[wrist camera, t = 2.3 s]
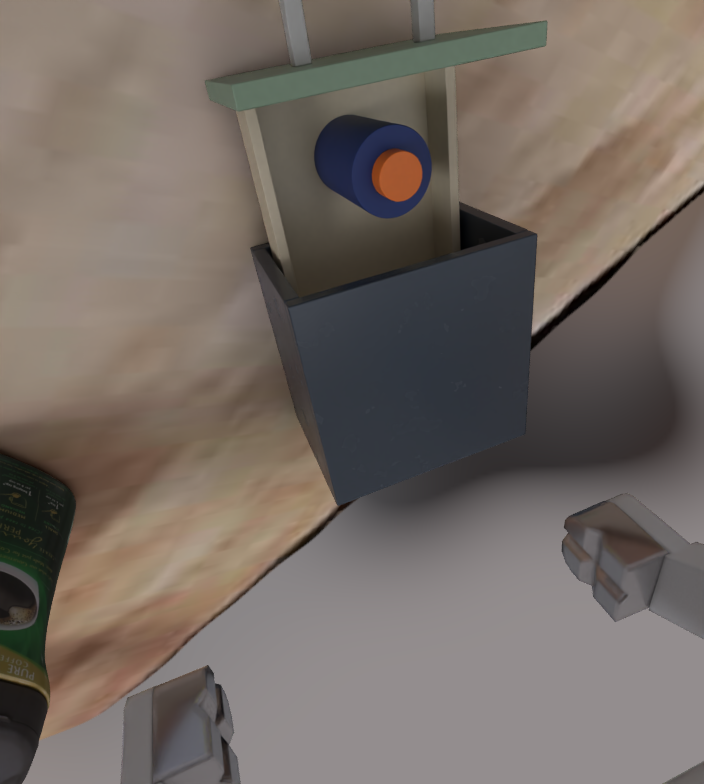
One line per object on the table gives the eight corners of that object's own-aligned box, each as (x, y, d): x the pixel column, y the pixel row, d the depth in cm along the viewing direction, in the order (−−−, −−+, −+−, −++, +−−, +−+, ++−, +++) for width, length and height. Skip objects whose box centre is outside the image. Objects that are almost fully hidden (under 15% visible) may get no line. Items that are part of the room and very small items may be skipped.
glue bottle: (307, 123, 28) (352, 137, 22) (377, 107, 28) (439, 117, 23) (321, 201, 30) (365, 233, 24) (386, 184, 31) (443, 211, 25)
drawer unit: (249, 247, 31) (287, 307, 23) (444, 195, 34) (538, 233, 26) (297, 418, 39) (337, 506, 31) (452, 365, 42) (526, 434, 34)
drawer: (175, -24, 24) (192, -68, 16) (437, -65, 26) (556, -120, 19) (270, 317, 34) (307, 387, 26) (450, 263, 36) (531, 313, 29)
